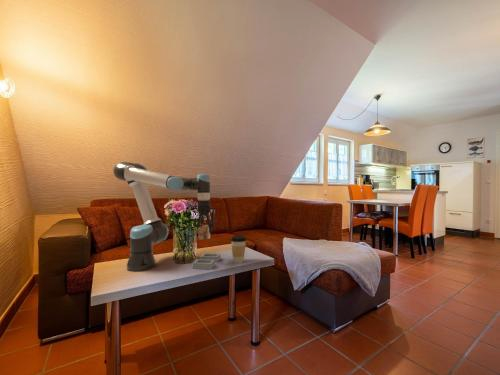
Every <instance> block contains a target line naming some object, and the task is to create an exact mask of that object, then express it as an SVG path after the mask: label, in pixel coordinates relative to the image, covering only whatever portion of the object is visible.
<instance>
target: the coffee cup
mask: <svg viewBox="0 0 500 375" xmlns="http://www.w3.org/2000/svg"><path fill="white" fill-rule="evenodd" d="M230 242H231V252H232V257H233V258H232V260H233V262H234V263H237V264H239V263H240V264H241V263H244V259H245V252H246V244H247V243H246V242H247V237H246V236H244V235H232V236H231V238H230Z"/></svg>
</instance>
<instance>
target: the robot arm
mask: <svg viewBox="0 0 500 375" xmlns="http://www.w3.org/2000/svg"><path fill="white" fill-rule="evenodd" d="M113 175H114V177H115V178H116V179H117V180H120V181H125V182H126V183H127V185H128V187H130V188H131V189H132V191H133V194H134V196H135V197H134V198H135V200H136V203H137V206H138V210H139V212H140V215H141V218H142V220H143V224H140V225H136V226H133V227H131V229H130V232H129V233H130V234H129V237H130V238H129V247H130V249H129V258H128V260H127V263H126V270H127V271H130V272H142V271H147V270H150V269H153V268H154V267H156V261H157V260H156V259H155V256H154V252H153V245H156V244H159V243H162V242H163V241H165V240H166V239H167V238H168V235H169V231H170V230H169V227H168V226H167V225H166V224H165V223H163V221H162V220H163V219H162V218H160V217H158V215H157V212H156V209H155V206H154V203H153V200H152V197H151V194H150V190H149V188H148V185H151V186H157V187H160V188H161V187H162V188H164V189H165V188H166V189H169V190H171V191H175V192H177V191H178V192H179V191H186V192H187V191H197V193H196V194H197V208H196V209H194V210H192V213H193V212H194V213H195V215H196V213H197V214H198V218H197V220H196V218H195V219H194V218H193V227H195V228H196V229H198V228H200V227H201V223H202V219H203V216H205V218H206V222H207V225H208V226H209V227H208V239H210V238H211V233H212V231H213V227H215V226H216V224H215V223H216V222H215V214H216V209H212V207H211V200H210V199H211V178H210V177H211V176H210V175H209V174H204V173H202V174H197V175H196V176H197V177H181V176H175V175H170V174H166V173H161V172H156V171H153V170H148V168H147V167H146V166H145V165H143V164H141V163H135V162H128V161H120V162H118V163H116V164H115V165H114V167H113ZM147 184H148V185H147ZM210 214H211V218H210ZM196 222H197V225H196ZM208 239H207V240H208Z"/></svg>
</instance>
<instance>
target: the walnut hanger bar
mask: <svg viewBox="0 0 500 375" xmlns="http://www.w3.org/2000/svg"><path fill="white" fill-rule="evenodd" d="M208 227H209V226H208V224H205V225H202V226H200V228H198V229H197V228H196V229H195V234H198V236H197V237H198V238H197V240H198V241H201V240H203V241H204V240H208Z"/></svg>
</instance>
